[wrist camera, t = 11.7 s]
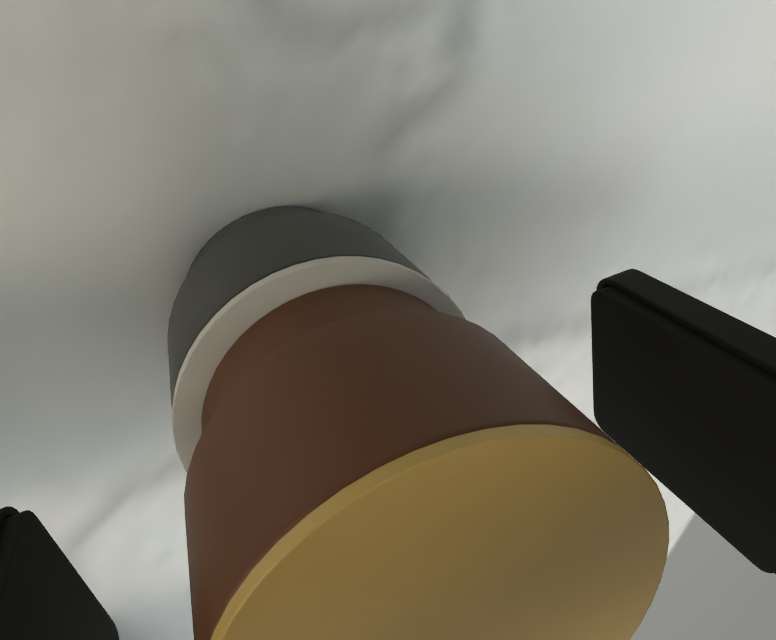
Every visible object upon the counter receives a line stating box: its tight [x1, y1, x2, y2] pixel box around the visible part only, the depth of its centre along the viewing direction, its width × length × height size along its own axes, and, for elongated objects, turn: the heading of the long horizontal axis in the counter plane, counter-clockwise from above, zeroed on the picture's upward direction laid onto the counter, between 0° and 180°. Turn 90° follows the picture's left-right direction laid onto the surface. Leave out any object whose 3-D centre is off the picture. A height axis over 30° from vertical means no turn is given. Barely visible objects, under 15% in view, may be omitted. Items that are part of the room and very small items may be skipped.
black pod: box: [168, 206, 466, 472], centre depth 13 cm, size 6×6×5 cm
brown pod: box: [184, 284, 669, 640], centre depth 9 cm, size 6×6×5 cm
